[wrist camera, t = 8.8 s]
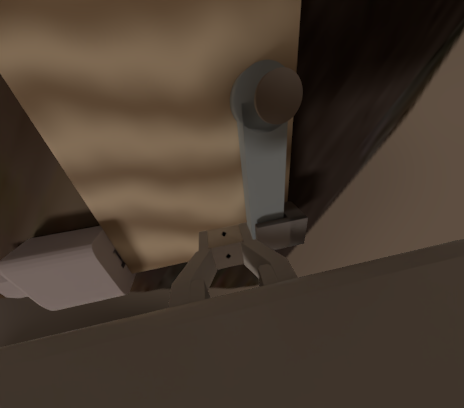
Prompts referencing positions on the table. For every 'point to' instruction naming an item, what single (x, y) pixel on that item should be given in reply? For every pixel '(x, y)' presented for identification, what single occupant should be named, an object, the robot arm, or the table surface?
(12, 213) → the table surface
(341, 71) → the table surface
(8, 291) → the charger
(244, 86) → the link
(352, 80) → the table surface
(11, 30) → the pintle plate
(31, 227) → the table surface
